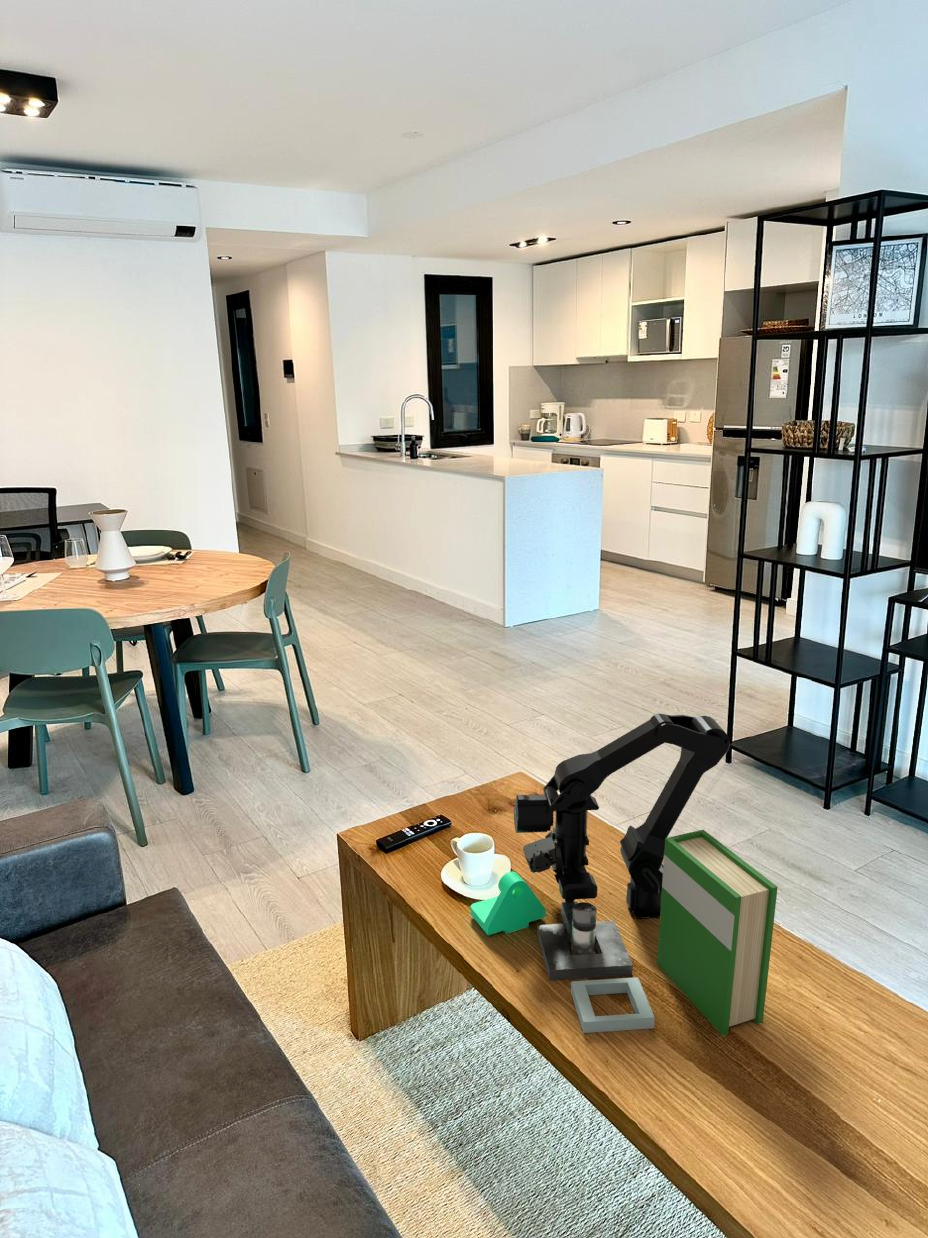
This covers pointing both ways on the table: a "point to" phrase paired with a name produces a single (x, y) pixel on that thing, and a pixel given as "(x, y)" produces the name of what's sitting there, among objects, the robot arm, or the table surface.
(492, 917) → the camera mount
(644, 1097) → the table surface
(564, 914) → the grey rectangular block
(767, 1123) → the table surface
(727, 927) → the hardback book
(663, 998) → the table surface
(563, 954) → the socket block
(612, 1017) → the square frame
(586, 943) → the chrome metal cylinder
